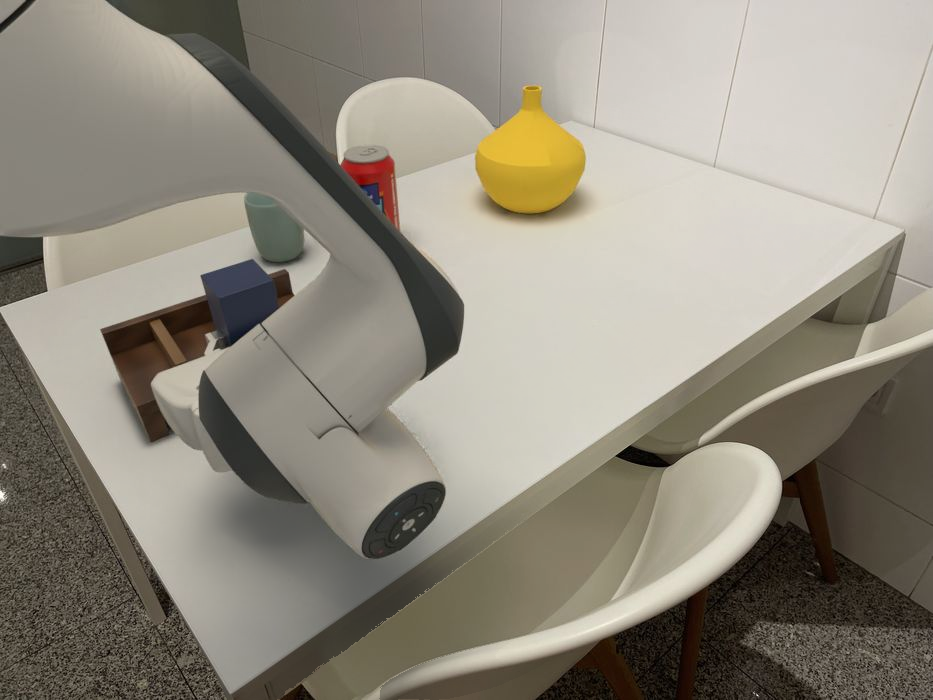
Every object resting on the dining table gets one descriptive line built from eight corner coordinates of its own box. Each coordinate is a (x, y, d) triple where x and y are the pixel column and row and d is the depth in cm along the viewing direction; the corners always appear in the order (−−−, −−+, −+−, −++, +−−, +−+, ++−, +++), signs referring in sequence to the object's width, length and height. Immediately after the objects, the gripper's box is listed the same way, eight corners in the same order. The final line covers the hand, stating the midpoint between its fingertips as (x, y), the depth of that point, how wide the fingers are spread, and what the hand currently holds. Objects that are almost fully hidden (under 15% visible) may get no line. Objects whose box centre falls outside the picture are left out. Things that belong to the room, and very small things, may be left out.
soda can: (411, 241, 110) (404, 148, 101) (380, 262, 104) (369, 166, 95) (373, 230, 113) (362, 139, 104) (340, 250, 108) (327, 155, 99)
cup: (255, 248, 109) (241, 188, 103) (305, 240, 111) (294, 180, 105) (258, 272, 103) (244, 209, 97) (311, 263, 105) (300, 201, 99)
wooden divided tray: (150, 442, 74) (127, 383, 69) (122, 384, 82) (99, 328, 77) (337, 365, 84) (327, 310, 79) (295, 321, 92) (285, 268, 87)
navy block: (250, 412, 67) (218, 298, 60) (231, 386, 71) (199, 274, 63) (298, 392, 70) (273, 279, 62) (278, 368, 73) (252, 258, 65)
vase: (453, 204, 120) (449, 91, 109) (520, 172, 131) (522, 66, 120) (538, 236, 110) (543, 114, 99) (602, 198, 121) (614, 85, 110)
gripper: (412, 326, 60) (339, 264, 69) (174, 422, 51) (126, 336, 60) (417, 383, 64) (347, 317, 73) (196, 483, 55) (147, 392, 64)
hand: (245, 326), depth 66 cm, fingers closed on navy block, 5 cm apart
